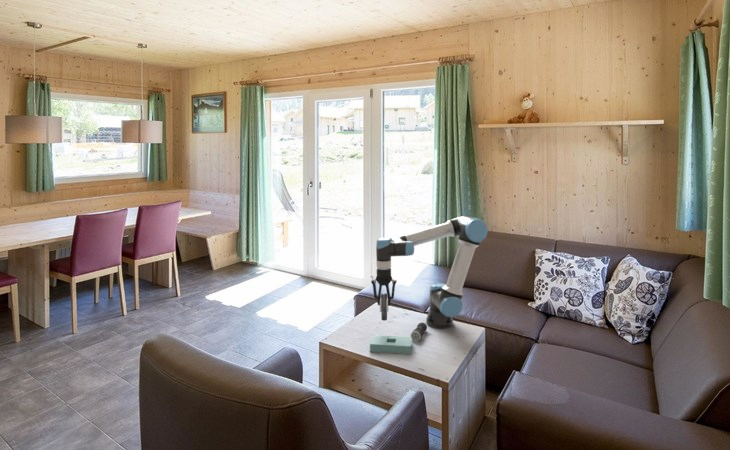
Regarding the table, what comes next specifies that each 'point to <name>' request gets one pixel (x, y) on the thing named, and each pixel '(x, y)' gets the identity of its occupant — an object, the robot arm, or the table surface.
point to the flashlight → (418, 331)
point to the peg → (383, 306)
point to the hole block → (391, 344)
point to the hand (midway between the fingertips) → (384, 311)
